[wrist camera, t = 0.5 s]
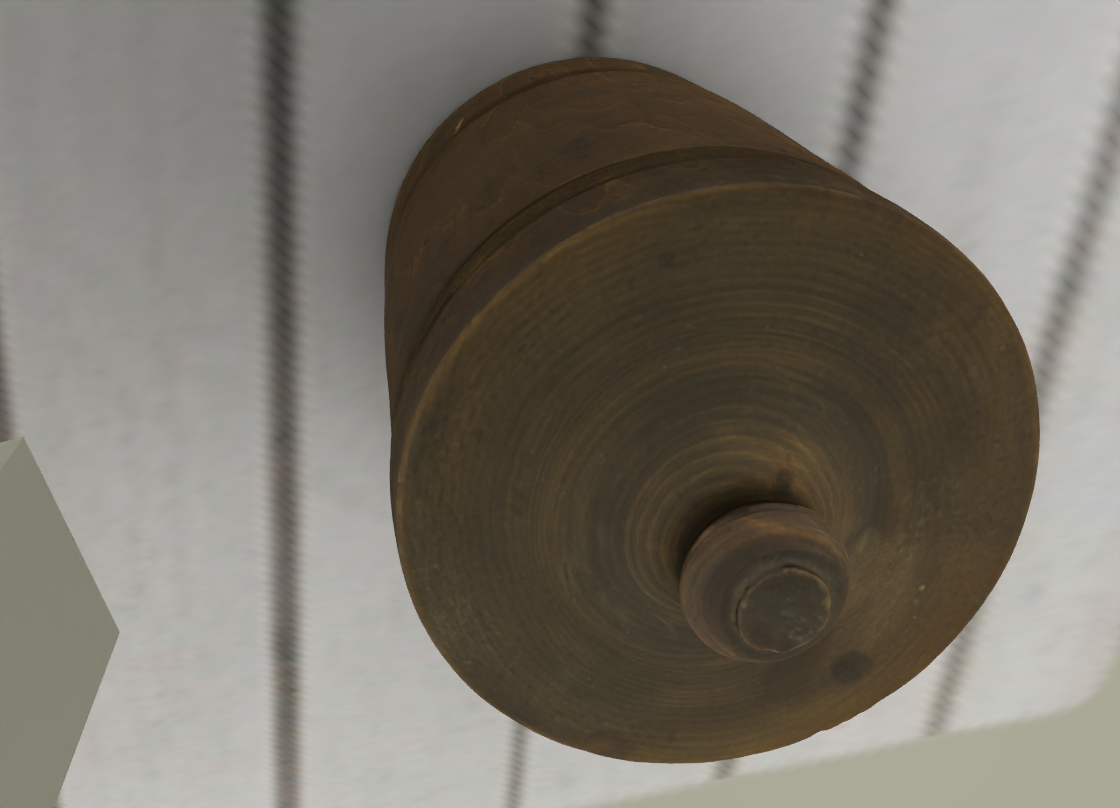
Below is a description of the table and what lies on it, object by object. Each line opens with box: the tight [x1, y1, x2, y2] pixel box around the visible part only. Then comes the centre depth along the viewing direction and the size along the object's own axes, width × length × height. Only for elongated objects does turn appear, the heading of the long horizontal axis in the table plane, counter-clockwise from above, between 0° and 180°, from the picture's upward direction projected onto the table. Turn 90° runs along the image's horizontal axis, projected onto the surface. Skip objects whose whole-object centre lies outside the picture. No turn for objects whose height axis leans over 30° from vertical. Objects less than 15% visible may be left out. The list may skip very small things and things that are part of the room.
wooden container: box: [384, 57, 1040, 764], centre depth 30 cm, size 15×15×22 cm
